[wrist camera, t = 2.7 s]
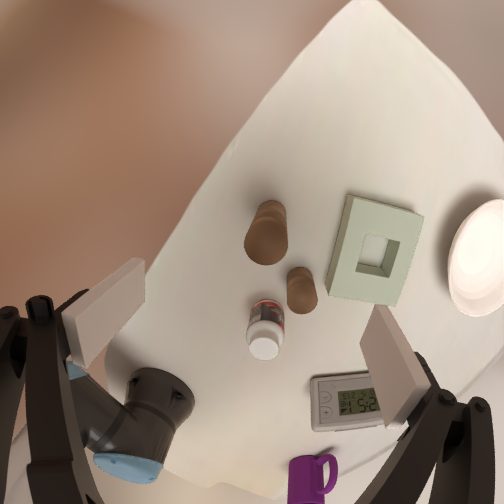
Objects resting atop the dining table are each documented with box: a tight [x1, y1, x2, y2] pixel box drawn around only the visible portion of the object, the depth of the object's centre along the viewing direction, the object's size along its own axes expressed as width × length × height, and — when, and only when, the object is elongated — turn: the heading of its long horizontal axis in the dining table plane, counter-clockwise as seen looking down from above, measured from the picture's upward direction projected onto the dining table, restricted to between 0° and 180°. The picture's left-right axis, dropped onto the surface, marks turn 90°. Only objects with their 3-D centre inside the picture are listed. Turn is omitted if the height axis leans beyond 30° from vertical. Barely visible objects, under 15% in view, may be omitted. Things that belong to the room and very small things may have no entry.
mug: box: [287, 454, 338, 504], centre depth 51 cm, size 9×16×15 cm, turn 148°
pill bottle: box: [246, 300, 284, 361], centre depth 41 cm, size 5×5×10 cm
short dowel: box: [287, 267, 318, 314], centre depth 40 cm, size 4×4×7 cm
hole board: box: [325, 194, 424, 306], centre depth 38 cm, size 11×14×4 cm
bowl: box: [448, 199, 504, 317], centre depth 35 cm, size 20×20×6 cm
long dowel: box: [244, 200, 288, 265], centre depth 33 cm, size 4×4×15 cm
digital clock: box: [310, 372, 384, 432], centre depth 44 cm, size 16×9×11 cm, turn 83°
